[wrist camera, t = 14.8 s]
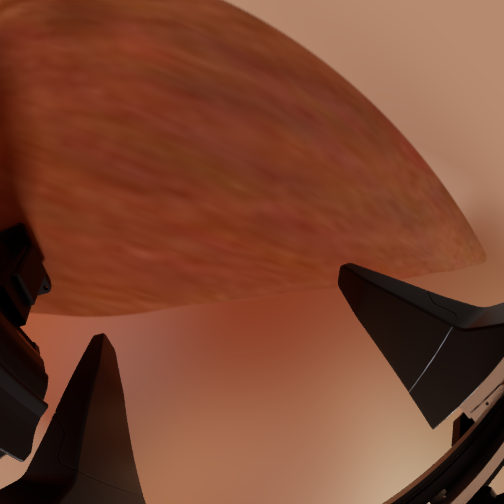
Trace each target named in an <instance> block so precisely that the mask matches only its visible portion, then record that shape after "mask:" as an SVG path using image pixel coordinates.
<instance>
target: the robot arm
mask: <svg viewBox="0 0 504 504" xmlns="http://www.w3.org/2000/svg"><path fill="white" fill-rule="evenodd" d="M18 228H20V229H21V230H22V232H20V231H19V229H18ZM45 286H47V287H48V288H46V287H45ZM338 286H339V288H340V290H341V291H342V293H343V295H344V297H345V298H346V300H347V302H348V304H349V305H350V307H351V309H352V310H353V312H354V314H355V315H356V317H357V318H358V320H359V321H360V323H361V324H362V325H363V327H364V328H365V329H366V331H367V332H368V334H369V335H370V337H371V338H372V339H373V341H374V342H375V344H376V345H377V346H378V348H379V349H380V351H381V352H382V354H383V355H384V357H385V358H386V359H387V361H388V362H389V364H390V365H391V367H392V368H393V370H394V371H395V372H396V374H397V376H398V377H399V378H400V380H401V381H402V383H403V384H404V386H405V387H406V389H407V390H408V392H409V394H410V395H411V397H412V398H413V400H414V401H415V403H416V404H417V406H418V408H419V409H420V411H421V412H422V414H423V415H424V417H425V418H426V420H427V422H428V423H429V425H430V426H431V428H432V429H434V428H436V427H437V426H438V425H439V424H440V423H441V422H443V421H444V420H445V419H446V418H447V417H448V416H449V415H451V414H452V413H453V412H454V411H455V410H456V409H457V408H458V407H460V408H461V410H462V411H463V412H462V413H461V415H460V416H459V417H458V418H457V419H456V420H455V421H454V422H453V435H452V436H453V437H452V448H451V449H450V450H449V451H448V452H447V453H445V454H444V456H442V457H441V458H440V459H439V460H438V461H437V462H436V463H435V464H433V465H432V466H431V467H430V468H429V469H428V470H427V471H426V472H424V473H423V474H422V475H421V476H420V477H418V478H417V479H416V480H414V481H413V482H412V483H411V484H409V485H408V486H407V487H405V488H404V489H403V490H401V491H400V492H399V493H397V494H396V495H394V496H393V497H392V498H390V499H389V500H387V501H386V502H384V503H383V504H427V503H428V502H430V503H431V504H504V493H502V494H500V495H496V493H495V492H494V491H493V489H492V488H491V487H489V486H488V485H489V484H490V483H491V481H492V480H493V479H494V478H495V476H496V475H497V474H498V472H499V471H500V470H501V468H502V467H503V466H504V303H501V304H497V305H494V306H490V307H477V306H474V305H470V304H467V303H463V302H460V301H457V300H453V299H450V298H447V297H444V296H441V295H438V294H435V293H433V292H430V291H426V290H425V289H422V288H419V287H416V286H414V285H411V284H408V283H406V282H403V281H400V280H397V279H395V278H392V277H389V276H386V275H383V274H381V273H378V272H375V271H372V270H369V269H367V268H364V267H361V266H358V265H355V264H352V263H347V264H344V265H342V266H341V267H340V271H339V277H338ZM50 290H51V283H50V281H49V279H48V277H47V275H46V270H45V268H44V266H43V264H42V262H41V260H40V258H39V255H38V253H37V251H36V248H35V247H34V246H33V245H32V242H31V240H30V237H29V235H28V232H27V230H26V227H25V225H24V224H22V223H18V224H15V225H13V226H10V227H8V228H6V229H3V230H1V231H0V459H1V458H2V457H3V456H5V455H9V456H11V457H13V458H15V459H16V460H18V461H20V462H23V461H25V459H26V458H27V457H28V456H29V454H30V453H31V450H32V443H33V439H34V434H35V430H36V427H37V425H38V422H39V420H40V418H41V416H42V415H43V414H44V412H45V411H46V409H47V408H48V404H47V403H46V402H44V398H45V395H46V391H47V387H48V375H47V374H46V373H45V367H44V362H43V359H42V358H41V356H40V351H39V347H38V346H37V345H36V343H35V342H32V341H31V340H30V339H29V337H28V336H27V335H26V334H25V333H24V332H23V330H22V329H21V328H20V326H23V325H26V321H27V318H28V315H29V312H30V309H31V306H32V305H34V304H35V301H36V298H37V295H41V294H45V293H48V292H50ZM55 412H56V413H55V414H54V415H53V417H52V420H51V422H50V424H49V426H48V429H47V431H46V433H45V435H44V437H43V439H42V441H41V443H40V445H39V447H38V449H37V451H36V453H35V455H34V457H33V459H32V461H31V463H30V465H29V467H28V469H27V471H26V472H25V474H24V475H23V476H22V477H21V478H20V479H19V480H17V481H15V482H13V483H12V484H10V485H8V486H6V487H4V488H2V489H0V504H146V503H145V500H144V497H143V493H142V490H141V486H140V482H139V478H138V474H137V469H136V465H135V461H134V457H133V451H132V446H131V440H130V435H129V428H128V423H127V416H126V408H125V400H124V393H123V387H122V383H121V378H120V373H119V368H118V363H117V357H116V352H115V349H114V347H113V346H112V344H111V343H110V341H109V339H108V338H107V336H106V335H105V334H104V333H102V334H98V335H94V336H93V338H92V339H91V341H90V343H89V345H88V347H87V349H86V350H85V352H84V354H83V356H82V358H81V360H80V362H79V363H78V365H77V367H76V369H75V371H74V373H73V375H72V377H71V379H70V381H69V383H68V385H67V387H66V389H65V391H64V393H63V396H62V398H61V400H60V402H59V404H58V406H57V409H56V411H55Z"/></svg>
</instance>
